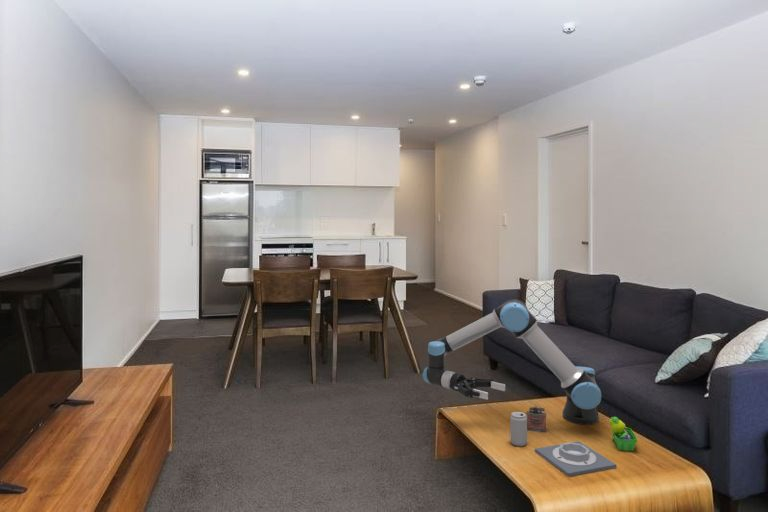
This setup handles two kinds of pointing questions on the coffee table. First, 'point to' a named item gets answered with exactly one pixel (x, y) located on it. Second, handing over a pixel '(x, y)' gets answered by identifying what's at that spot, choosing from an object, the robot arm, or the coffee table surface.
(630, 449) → the fruit basket
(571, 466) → the board
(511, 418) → the beverage can
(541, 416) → the brown piece
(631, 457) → the coffee table surface
